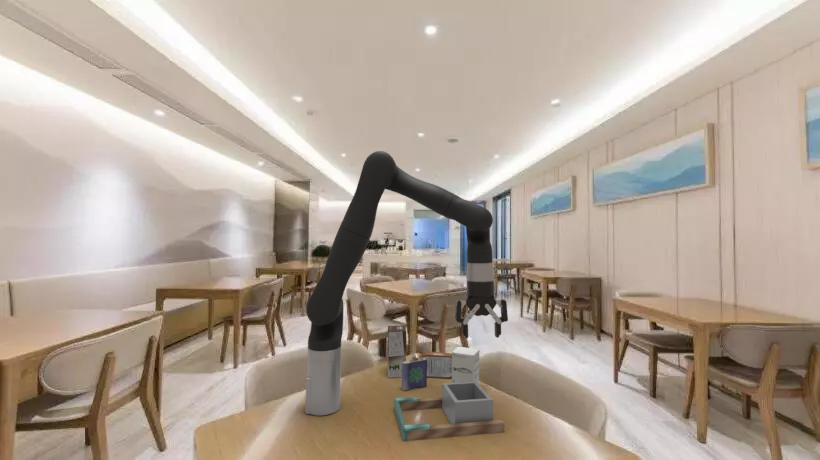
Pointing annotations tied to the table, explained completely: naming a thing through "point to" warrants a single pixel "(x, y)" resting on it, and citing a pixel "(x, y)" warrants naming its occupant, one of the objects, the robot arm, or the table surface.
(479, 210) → the robot arm
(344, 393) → the table surface
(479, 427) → the bar
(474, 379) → the supplement box
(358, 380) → the table surface
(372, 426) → the table surface
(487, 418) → the grey storage bin
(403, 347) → the coffee box
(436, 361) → the tin
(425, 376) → the flask
